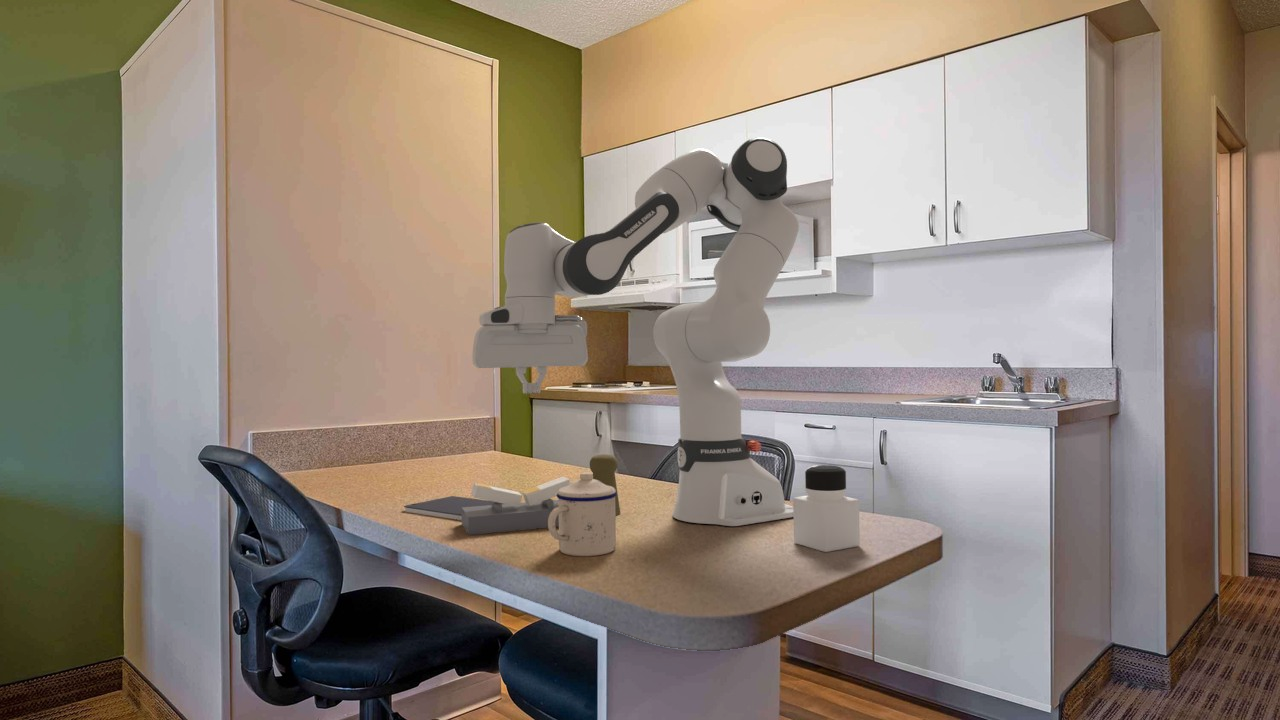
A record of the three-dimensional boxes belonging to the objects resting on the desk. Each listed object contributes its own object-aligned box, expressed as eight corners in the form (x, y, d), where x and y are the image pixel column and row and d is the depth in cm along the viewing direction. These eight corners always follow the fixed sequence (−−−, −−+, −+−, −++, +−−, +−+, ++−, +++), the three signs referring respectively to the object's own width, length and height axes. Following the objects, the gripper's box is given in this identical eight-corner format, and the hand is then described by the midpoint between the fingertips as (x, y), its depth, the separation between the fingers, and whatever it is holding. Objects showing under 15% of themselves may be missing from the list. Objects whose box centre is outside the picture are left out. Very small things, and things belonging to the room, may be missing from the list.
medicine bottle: (860, 546, 117) (859, 467, 117) (825, 553, 113) (823, 471, 113) (827, 537, 123) (826, 461, 123) (792, 543, 119) (791, 465, 119)
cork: (616, 517, 141) (615, 457, 141) (584, 516, 142) (583, 456, 142) (623, 510, 147) (622, 453, 147) (592, 510, 148) (591, 452, 148)
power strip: (602, 512, 146) (601, 489, 146) (616, 521, 138) (616, 497, 138) (461, 524, 137) (461, 500, 137) (468, 535, 129) (468, 509, 129)
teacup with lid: (589, 539, 124) (587, 467, 124) (630, 548, 118) (628, 472, 118) (530, 554, 115) (528, 476, 115) (571, 565, 109) (569, 482, 109)
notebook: (527, 513, 149) (452, 503, 161) (527, 505, 149) (452, 495, 161) (478, 525, 139) (402, 514, 151) (478, 517, 139) (402, 505, 151)
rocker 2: (566, 486, 141) (563, 475, 141) (572, 490, 138) (569, 478, 137) (525, 502, 139) (521, 491, 139) (529, 505, 135) (526, 494, 135)
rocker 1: (515, 502, 138) (518, 491, 138) (519, 506, 134) (522, 494, 135) (471, 493, 136) (474, 482, 136) (474, 497, 132) (477, 485, 132)
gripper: (582, 316, 144) (583, 390, 144) (470, 316, 137) (471, 394, 137) (591, 314, 138) (593, 391, 138) (475, 313, 131) (476, 395, 131)
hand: (531, 393), depth 137 cm, fingers closed
